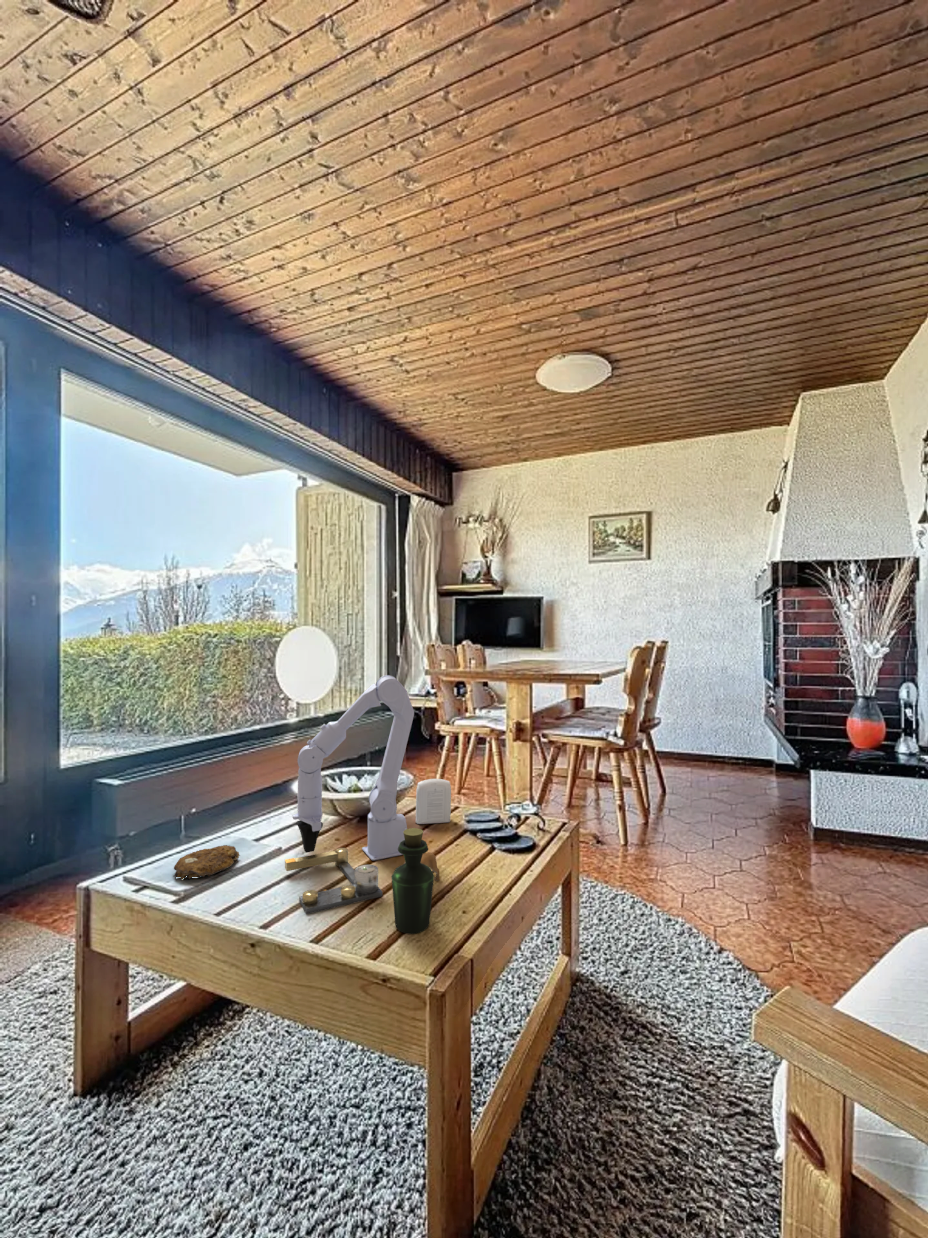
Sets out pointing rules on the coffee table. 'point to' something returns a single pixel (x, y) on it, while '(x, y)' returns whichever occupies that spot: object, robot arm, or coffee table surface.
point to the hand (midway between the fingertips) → (309, 851)
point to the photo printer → (433, 801)
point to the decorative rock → (206, 861)
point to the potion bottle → (412, 885)
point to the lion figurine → (431, 863)
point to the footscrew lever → (317, 859)
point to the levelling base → (335, 894)
